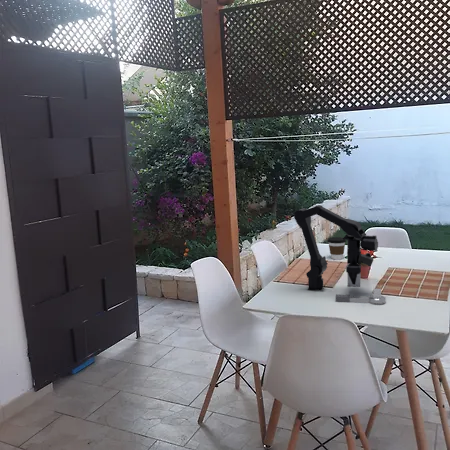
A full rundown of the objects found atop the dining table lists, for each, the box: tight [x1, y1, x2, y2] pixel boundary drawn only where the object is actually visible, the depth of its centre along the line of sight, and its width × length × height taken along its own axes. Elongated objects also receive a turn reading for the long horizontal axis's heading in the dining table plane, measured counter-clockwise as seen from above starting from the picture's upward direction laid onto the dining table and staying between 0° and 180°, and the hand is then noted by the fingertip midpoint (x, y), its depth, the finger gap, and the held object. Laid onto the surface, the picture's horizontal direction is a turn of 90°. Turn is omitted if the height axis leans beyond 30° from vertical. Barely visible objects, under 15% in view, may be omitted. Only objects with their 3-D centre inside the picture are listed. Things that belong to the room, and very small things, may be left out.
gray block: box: [347, 272, 361, 288], centre depth 215 cm, size 6×6×6 cm
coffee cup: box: [327, 236, 347, 261], centre depth 278 cm, size 11×11×12 cm
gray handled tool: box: [335, 288, 387, 306], centre depth 204 cm, size 21×7×6 cm, turn 74°
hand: (354, 282), depth 215 cm, fingers closed on gray block, 6 cm apart
